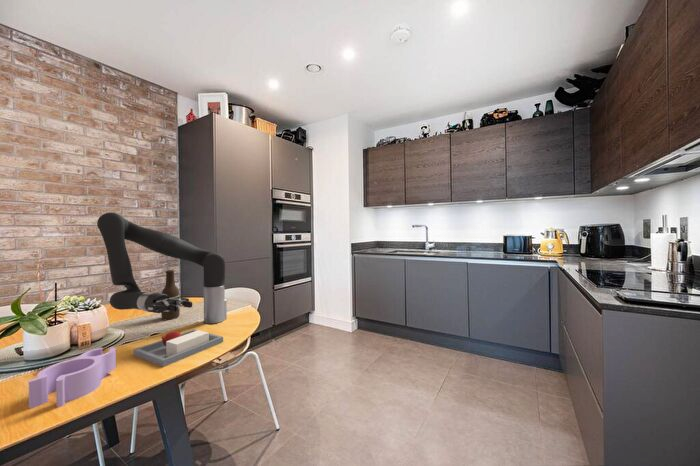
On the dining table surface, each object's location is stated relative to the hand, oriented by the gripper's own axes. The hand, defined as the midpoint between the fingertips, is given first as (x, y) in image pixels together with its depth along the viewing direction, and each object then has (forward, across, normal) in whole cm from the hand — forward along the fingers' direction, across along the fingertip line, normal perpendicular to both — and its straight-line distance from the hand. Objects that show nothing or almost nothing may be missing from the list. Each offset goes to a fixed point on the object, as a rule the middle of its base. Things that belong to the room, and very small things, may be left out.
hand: (184, 306), depth 105 cm
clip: (-6, -29, +16) cm, 34 cm away
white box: (+5, -3, +15) cm, 16 cm away
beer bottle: (-39, +24, +16) cm, 49 cm away
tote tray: (+1, -2, +16) cm, 16 cm away
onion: (-1, 0, +13) cm, 13 cm away
